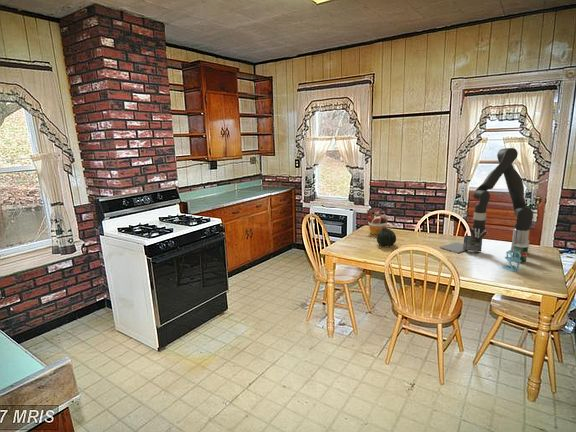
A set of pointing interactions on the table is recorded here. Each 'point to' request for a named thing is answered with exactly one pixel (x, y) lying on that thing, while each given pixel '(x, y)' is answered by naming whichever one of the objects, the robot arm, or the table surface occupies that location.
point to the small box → (472, 244)
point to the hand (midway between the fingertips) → (477, 242)
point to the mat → (454, 247)
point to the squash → (386, 237)
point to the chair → (512, 260)
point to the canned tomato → (521, 252)
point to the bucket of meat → (376, 222)
